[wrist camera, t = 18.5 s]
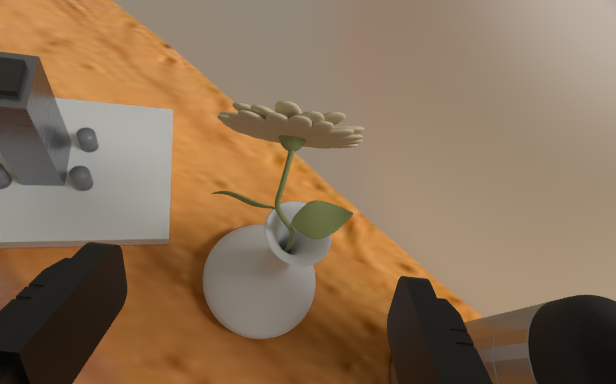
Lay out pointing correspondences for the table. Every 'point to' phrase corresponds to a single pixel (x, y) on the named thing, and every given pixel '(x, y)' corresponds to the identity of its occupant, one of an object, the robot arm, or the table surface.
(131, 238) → the tray
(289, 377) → the table surface
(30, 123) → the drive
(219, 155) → the table surface
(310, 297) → the flower in vase
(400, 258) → the table surface
